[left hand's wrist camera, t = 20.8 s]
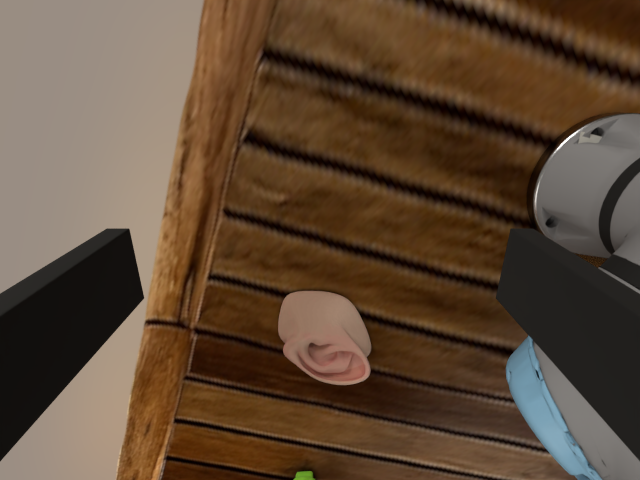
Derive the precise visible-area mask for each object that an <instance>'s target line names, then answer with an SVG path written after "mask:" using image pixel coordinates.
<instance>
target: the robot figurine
mask: <svg viewBox="0 0 640 480" xmlns="http://www.w3.org/2000/svg"><path fill="white" fill-rule="evenodd" d="M293 480H315V479H314V478H313V472H312V471H303V472H297V473H296V478H295V479H293Z"/></svg>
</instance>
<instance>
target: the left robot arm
mask: <svg viewBox="0 0 640 480" xmlns="http://www.w3.org/2000/svg"><path fill="white" fill-rule="evenodd" d="M527 209H528V213H529V216H530V219H531V222H532V224H533V225H534V227H535V228H536V230H537V231H536V230H534V229H511V230H510V235H509V239H508V244H507V249H506V253H505V258H504V263H503V267H502V272H501V277H500V281H499V286H498V291H497V295H496V299H497V300H498V301H499V302H500V303H501V305H502V306H503V307H504V308H505V309H506V310H507V311H508V312H509V314H510V315H511V316H512V317H513V318H514V319H515V320H516V322H517V323H518V324H519V325H520V326H521V327H522V328H523V329H524V331H525V332H526V333H527V334H528V337H527V338H526V339H525V340H524V342H523V343H522V344H521V345H520V346H519V347H518V348H517V349H516V350H515V351H514V353H513V354H512V355H511V356H510V358H509V359H508V362H507V365H506V376H507V377H506V378H507V381H508V384H509V388H510V392H511V394H512V396H513V399H514V401H515V403H516V405H517V406H518V408H519V410H520V412H521V414H522V415H523V417H524V418H525V420H526V422H527V423H528V425H529V426H530V428H531V429H532V431H533V432H534V433H535V435H536V436H537V437H538V439H539V440H540V441H541V443H542V444H543V445H544V447H545V448H546V449H547V450H548V451H549V453H550V454H551V455H552V456H553V457H554V459H555V460H556V461H557V462H558V463H559V464H560V465H561V466H562V467H563V468H564V469H565V470H566V471H567V472H568V473H569V474H571V475H575V477H576V478H577V479H578V480H640V114H637V113H608V114H602V115H598V116H595V117H592V118H589V119H587V120H584V121H582V122H580V123H578V124H576V125H575V126H573V127H571V128H570V129H568V130H567V131H566V132H564V133H563V134H562V135H561V136H559V137H558V138H557V139H556V140H555V141H554V142H553V143H552V144H551V145H550V146H549V147H548V148H547V150H546V151H545V152H544V154H543V155H542V156H541V158H540V159H539V161H538V163H537V165H536V166H535V168H534V171H533V173H532V175H531V178H530V182H529V186H528V191H527ZM574 253H577V254H584V255H590V256H597V257H603V258H608V259H607V260H606V261H605V262H604V263H603V264H602V265H601V266H600V267H599V268H597V267H595V266H593V265H592V264H590V263H589V262H587V261H585V260H584V259H582V258H580V257H579V256H577V255H575V254H574ZM143 299H144V295H143V291H142V286H141V281H140V277H139V272H138V267H137V263H136V258H135V253H134V249H133V244H132V239H131V235H130V230H129V229H106V230H104V231H102V232H101V233H99V234H97V235H96V236H94V237H93V238H91V239H89V240H88V241H86V242H84V243H83V244H81V245H79V246H78V247H76V248H75V249H73V250H71V251H70V252H68V253H66V254H65V255H63V256H61V257H60V258H58V259H56V260H55V261H53V262H52V263H50V264H48V265H47V266H45V267H43V268H42V269H40V270H38V271H37V272H35V273H33V274H32V275H30V276H29V277H27V278H25V279H24V280H22V281H20V282H19V283H17V284H16V285H14V286H12V287H10V288H9V289H7V290H6V291H4V292H2V293H1V294H0V461H1V460H2V459H3V457H4V456H5V455H6V454H7V453H8V452H9V451H10V450H11V448H12V447H13V446H14V445H15V444H16V443H17V442H18V440H19V439H20V438H21V437H22V436H23V435H24V434H25V433H26V431H27V430H28V429H29V428H30V427H31V426H32V425H33V424H34V422H35V421H36V420H37V419H38V418H39V417H40V416H41V414H42V413H43V412H44V411H45V410H46V409H47V408H48V407H49V405H50V404H51V403H52V402H53V401H54V400H55V399H56V397H57V396H58V395H59V394H60V393H61V392H62V391H63V390H64V388H65V387H66V386H67V385H68V384H69V383H70V382H71V380H72V379H73V378H74V377H75V376H76V375H77V374H78V373H79V371H80V370H81V369H82V368H83V367H84V366H85V365H86V363H87V362H88V361H89V360H90V359H91V358H92V357H93V355H94V354H95V353H96V352H97V351H98V350H99V349H100V347H101V346H102V345H103V344H104V343H105V342H106V341H107V340H108V339H109V337H110V336H111V335H112V334H113V333H114V332H115V331H116V329H117V328H118V327H119V326H120V325H121V324H122V323H123V321H124V320H125V319H126V318H127V317H128V316H129V315H130V314H131V312H132V311H133V310H134V309H135V308H136V307H137V306H138V304H139V303H140V302H141V301H142V300H143Z"/></svg>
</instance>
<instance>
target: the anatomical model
mask: <svg viewBox="0 0 640 480" xmlns="http://www.w3.org/2000/svg"><path fill="white" fill-rule="evenodd" d="M278 332H279V336H280V338H281V339H282V340H283V342H284V343H285V345H284V348H283V352H284V355H285V356H286V357H287V358H288V359H289V360H291V361H292V362H293V363H294V364H296V365H297V366H298V367H299V368H300V369H302V370H303V371H304V372H306V373H307V374H308V375H310V376H311V377H313V378H315V379H317V380H319V381H322V382H326V383H330V384H336V385H350V384H355V383H359V382H361V381H364V380H365V379H367V378H368V377H369V375H370V364H369V362H368V359H367V356H368V355H369V354H370V351H371V342H370V338H369V335H368V332H367V329H366V327H365V325H364V323H363V321H362V318H361V316H360V315H359V313H358V311H357V310H356V308H355V307H354V305H353V304H352V303H351V302H350V301H349V300H348V299H346V298H345V297H343V296H341V295H338V294H334V293H330V292H323V291H298V292H294V293H291V294H289V295H287V296H286V297H285V299H284V301H283V303H282V306H281V311H280V315H279V322H278Z"/></svg>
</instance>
